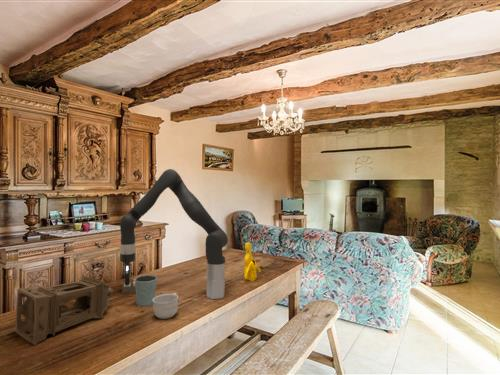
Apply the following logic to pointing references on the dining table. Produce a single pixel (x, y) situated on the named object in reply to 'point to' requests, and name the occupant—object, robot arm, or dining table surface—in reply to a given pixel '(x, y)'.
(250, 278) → the figure statuette
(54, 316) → the brown lantern
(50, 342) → the dining table surface
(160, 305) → the teacup
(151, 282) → the grey-green tumbler
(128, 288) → the key console
